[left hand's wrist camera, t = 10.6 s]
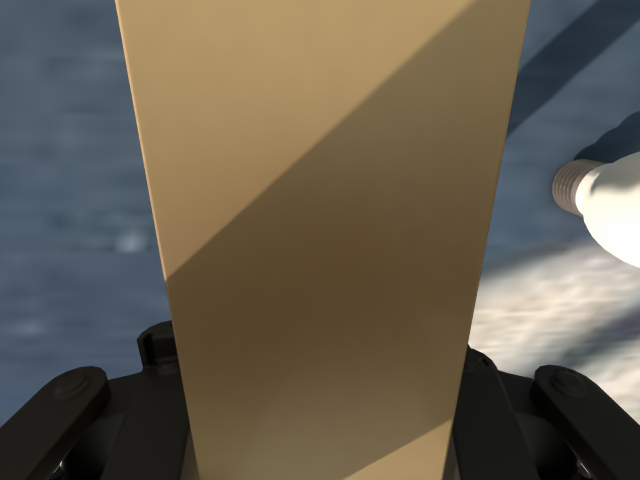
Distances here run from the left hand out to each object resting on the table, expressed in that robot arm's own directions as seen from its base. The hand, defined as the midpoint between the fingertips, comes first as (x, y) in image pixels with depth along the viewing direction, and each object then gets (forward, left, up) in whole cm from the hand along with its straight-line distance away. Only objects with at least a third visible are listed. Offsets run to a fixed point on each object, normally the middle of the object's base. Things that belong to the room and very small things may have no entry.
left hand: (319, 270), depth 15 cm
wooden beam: (0, +9, -1) cm, 10 cm away
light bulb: (+19, +1, -12) cm, 22 cm away
